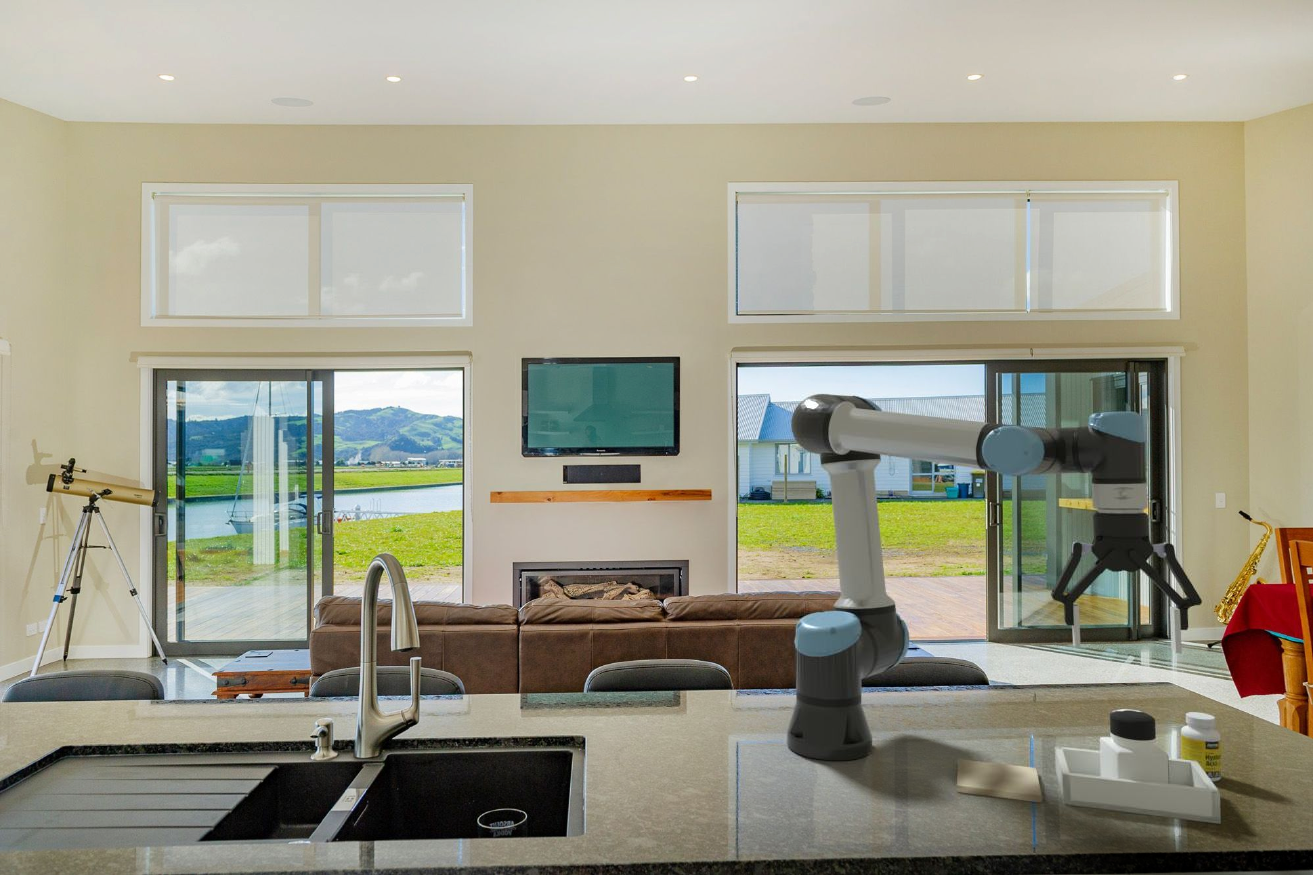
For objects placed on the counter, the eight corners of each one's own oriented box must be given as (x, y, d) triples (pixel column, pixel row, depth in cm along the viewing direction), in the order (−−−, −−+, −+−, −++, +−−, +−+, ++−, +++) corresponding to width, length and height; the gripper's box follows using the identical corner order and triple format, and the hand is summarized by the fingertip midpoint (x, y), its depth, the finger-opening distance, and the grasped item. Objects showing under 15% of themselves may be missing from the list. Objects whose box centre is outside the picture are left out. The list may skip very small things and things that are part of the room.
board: (957, 791, 129) (957, 785, 129) (958, 765, 140) (958, 759, 140) (1041, 802, 124) (1041, 795, 124) (1036, 774, 136) (1036, 767, 136)
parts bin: (1063, 803, 124) (1062, 774, 124) (1055, 773, 136) (1054, 746, 136) (1220, 823, 117) (1219, 792, 117) (1197, 789, 129) (1196, 760, 129)
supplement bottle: (1209, 785, 130) (1207, 722, 131) (1174, 773, 135) (1173, 713, 135) (1228, 778, 133) (1227, 717, 133) (1193, 767, 138) (1192, 708, 138)
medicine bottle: (1170, 802, 122) (1168, 720, 122) (1119, 800, 123) (1117, 719, 123) (1148, 783, 129) (1146, 706, 129) (1100, 781, 130) (1098, 705, 130)
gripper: (1034, 512, 129) (1039, 649, 128) (1221, 512, 120) (1228, 659, 120) (1030, 510, 136) (1035, 639, 135) (1207, 509, 127) (1213, 648, 127)
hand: (1125, 649), depth 127 cm, fingers open, 13 cm apart
